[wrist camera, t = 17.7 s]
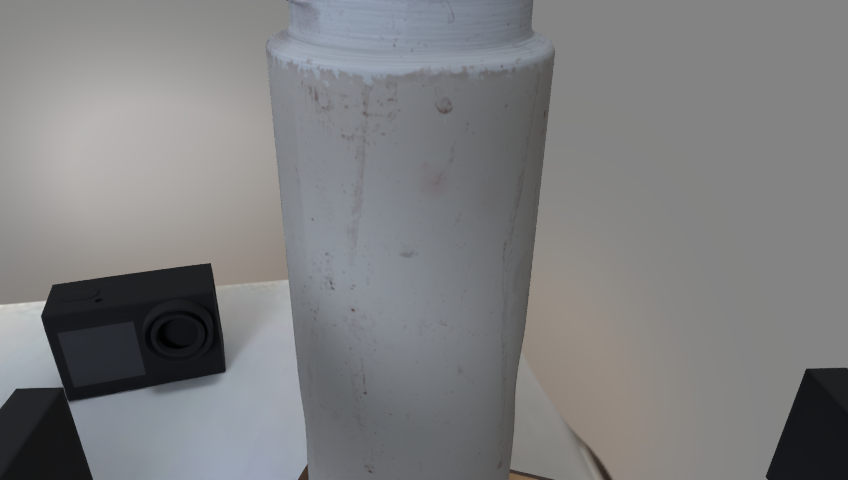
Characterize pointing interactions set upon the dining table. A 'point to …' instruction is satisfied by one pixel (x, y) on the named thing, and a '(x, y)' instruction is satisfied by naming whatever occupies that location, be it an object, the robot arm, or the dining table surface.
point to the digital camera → (134, 330)
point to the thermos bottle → (409, 226)
